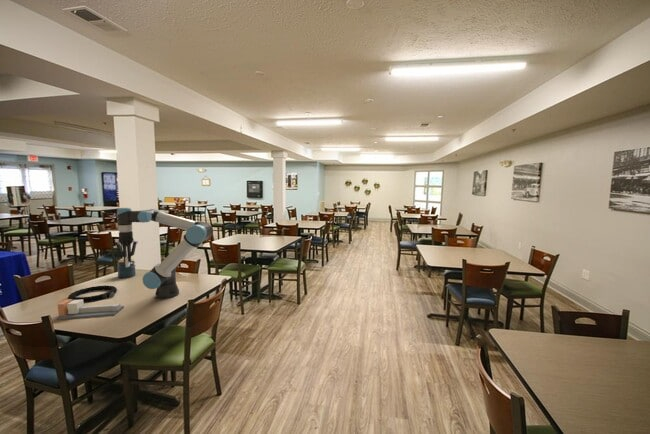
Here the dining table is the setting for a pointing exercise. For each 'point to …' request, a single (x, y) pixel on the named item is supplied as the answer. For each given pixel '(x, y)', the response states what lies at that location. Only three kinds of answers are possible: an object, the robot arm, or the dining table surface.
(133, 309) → the dining table surface
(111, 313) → the rail board
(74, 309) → the block
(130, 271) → the canister
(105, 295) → the cable lock
